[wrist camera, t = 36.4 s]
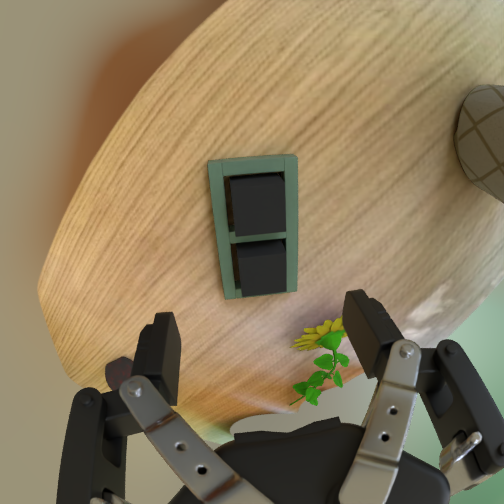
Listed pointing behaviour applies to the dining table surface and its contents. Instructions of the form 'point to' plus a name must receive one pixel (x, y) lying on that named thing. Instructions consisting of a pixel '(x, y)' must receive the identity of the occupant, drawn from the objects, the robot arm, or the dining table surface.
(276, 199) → the black block
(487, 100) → the planter
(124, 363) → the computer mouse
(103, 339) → the dining table surface
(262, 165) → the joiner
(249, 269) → the black near-cubic block
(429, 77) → the dining table surface
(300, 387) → the flower
